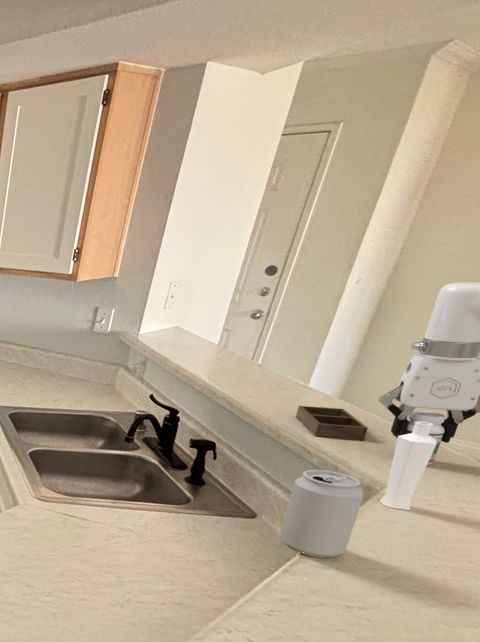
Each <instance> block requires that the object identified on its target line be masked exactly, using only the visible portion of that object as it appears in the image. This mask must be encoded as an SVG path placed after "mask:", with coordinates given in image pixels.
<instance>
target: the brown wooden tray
mask: <svg viewBox="0 0 480 642" xmlns="http://www.w3.org/2000/svg"><path fill="white" fill-rule="evenodd" d="M295 418H296V419H297V420H298V421H299V422H300V423H301V424H302V425H303V426H304V427H305V428H306V429H307V430H308V431H309V432H310V433H311V434H312V435H313V436H314V437H319V438H330V439H341V440H352V441H353V440H354V441H365V438H366V435H367V432H368V430H369V427H367V426H366V425H365V424H364V423H362V421H360V420H358V419H357V418H356V417H355V416H353V415H352V414H351V413H349V412H348V411H347V410H345V409H344V408H337V407H322V406H321V407H320V406H310V405H309V406H308V405H298V407H297V410H296V414H295Z"/></svg>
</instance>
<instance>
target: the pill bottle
mask: <svg viewBox="0 0 480 642" xmlns="http://www.w3.org/2000/svg"><path fill="white" fill-rule="evenodd" d="M408 419H409V424H408V427H407V430H406V433H405V434H410V433H412V431H413V428H414V425H415V423H414V422H418V421H422V422H428V423H433V426H431V429H430V431H429V434H428V435H430V436H431V437H433V438H435V439H436V440H437V444H436V446H435V448H434V450H433V453H432V455H431V457H430V459H429V461H428V463H427V466H428V465H432V464H434V462H435V461H436V457H437V454H438V451H439V448H440V446H441V443H442V441H441V440H442V437H443V434H444V431H445V430H444V428H443V427H442V426H441V423H443V422H444V420H445V419H446V415H444V414H442V413H438V412H433V411H427V410H424V411H423V410H413V411H412V412H411V414H410V415H409V416H408ZM394 452H395V450H394V451H393V455H392V458H393V457H394Z"/></svg>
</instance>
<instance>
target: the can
mask: <svg viewBox="0 0 480 642" xmlns="http://www.w3.org/2000/svg"><path fill="white" fill-rule="evenodd" d="M361 484H362V483H361V481H360V480H359V479H357V478H356V477H355V476H352V475H350V474H349V475H348V474H346V473H342V472H339V471H338V472H337V471H332V470H325V469H309V470H305V471H303V472H302V476H300V477H298V478H296V479H295V480H294V483H293V485H292V489H291V492H290V493H291V494H290V497H289V501H288V505H287V508H286V511H285V515H284V518H283V522H282V526H281V530H280V533H279V538H280V540H281V541H282V542H283V543H284V544H285V546H287V548H288V549H291V550H293V551H294V552H296V553H299V554H302V553H303V552H304V553H303V555H306V556H309V557H310V556H311V557H314V558H322V559H324V557H330V558H333V557H336V556H339V555H343V554H344V553H345V552H346V550H347V547H348V544H349V542H350V538H351V534H352V533H353V530H354V527H355V526H354V525H355V523H356V521H357V516H358V514H359V510H360V507H361V504H362V501H363V498H364V495H365V492H364V491H363V489H362V488H361V487H360V486H361ZM308 548H309V549H308Z"/></svg>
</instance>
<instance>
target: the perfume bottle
mask: <svg viewBox="0 0 480 642" xmlns="http://www.w3.org/2000/svg"><path fill="white" fill-rule="evenodd" d="M414 423H415V425H414V428H413V431H412V433H410V434H405V435H400V436H398V438H396V444H395V448H394V451H395V452H394V451H393V454H394V457H393V456H392V462H391V466H390V470H389V476H388V480H387V484H386V490H385V493H384V495H383V497H381V499H380V500H379V503H380V504H382V505H384V506H386V507H387V508H390V509H395V510H397V509H398V510H405V511H406V510H407V511H410V510H411V500H412V498H413V496H414V494H415V491H416V489H417V487H418V486H419V483H420V481H421V478H422V476H423V475H424V472H425V470H426V467H427V466H428V465H427V463H428V461H429V459H430V457H431V455H432V453H433V450H434V448H435V446H436V444H437V440H436V439H435V438H433V437H431V436H430V435H428V434H429V431H430V429H431V426H433V423H428V422H422V421H418V422H414Z"/></svg>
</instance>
